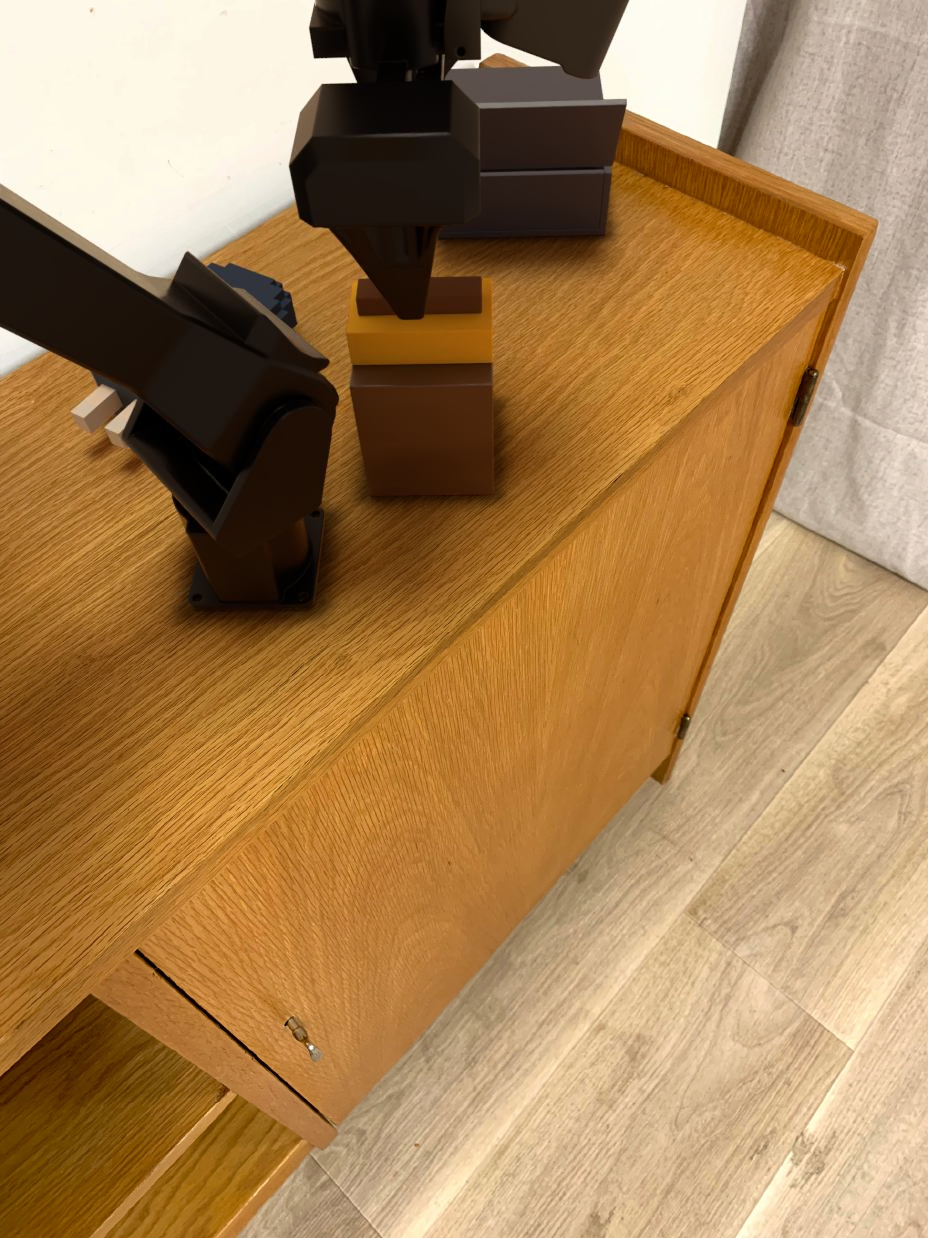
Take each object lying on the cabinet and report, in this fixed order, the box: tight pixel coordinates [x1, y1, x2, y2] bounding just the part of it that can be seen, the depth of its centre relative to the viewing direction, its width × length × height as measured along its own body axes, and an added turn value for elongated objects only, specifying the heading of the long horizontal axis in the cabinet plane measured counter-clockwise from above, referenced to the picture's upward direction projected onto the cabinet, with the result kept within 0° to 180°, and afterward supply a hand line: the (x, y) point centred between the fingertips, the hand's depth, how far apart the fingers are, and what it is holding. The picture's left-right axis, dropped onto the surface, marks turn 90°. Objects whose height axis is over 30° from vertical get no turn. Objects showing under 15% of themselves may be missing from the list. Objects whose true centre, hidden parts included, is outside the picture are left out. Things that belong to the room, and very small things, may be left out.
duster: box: [345, 275, 494, 366], centre depth 44 cm, size 7×4×3 cm, turn 89°
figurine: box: [70, 261, 298, 451], centre depth 54 cm, size 9×4×15 cm
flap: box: [476, 98, 628, 170], centre depth 55 cm, size 6×12×1 cm
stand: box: [348, 361, 495, 497], centre depth 48 cm, size 7×7×8 cm
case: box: [438, 65, 613, 239], centre depth 64 cm, size 13×12×5 cm
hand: (415, 252), depth 41 cm, fingers open, 9 cm apart
